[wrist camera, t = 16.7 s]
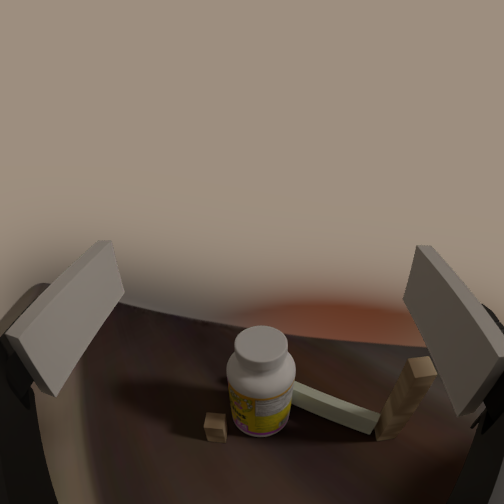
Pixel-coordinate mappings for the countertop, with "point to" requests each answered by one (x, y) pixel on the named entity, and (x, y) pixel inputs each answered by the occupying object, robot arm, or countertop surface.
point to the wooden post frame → (392, 415)
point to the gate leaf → (334, 408)
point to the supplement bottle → (260, 381)
